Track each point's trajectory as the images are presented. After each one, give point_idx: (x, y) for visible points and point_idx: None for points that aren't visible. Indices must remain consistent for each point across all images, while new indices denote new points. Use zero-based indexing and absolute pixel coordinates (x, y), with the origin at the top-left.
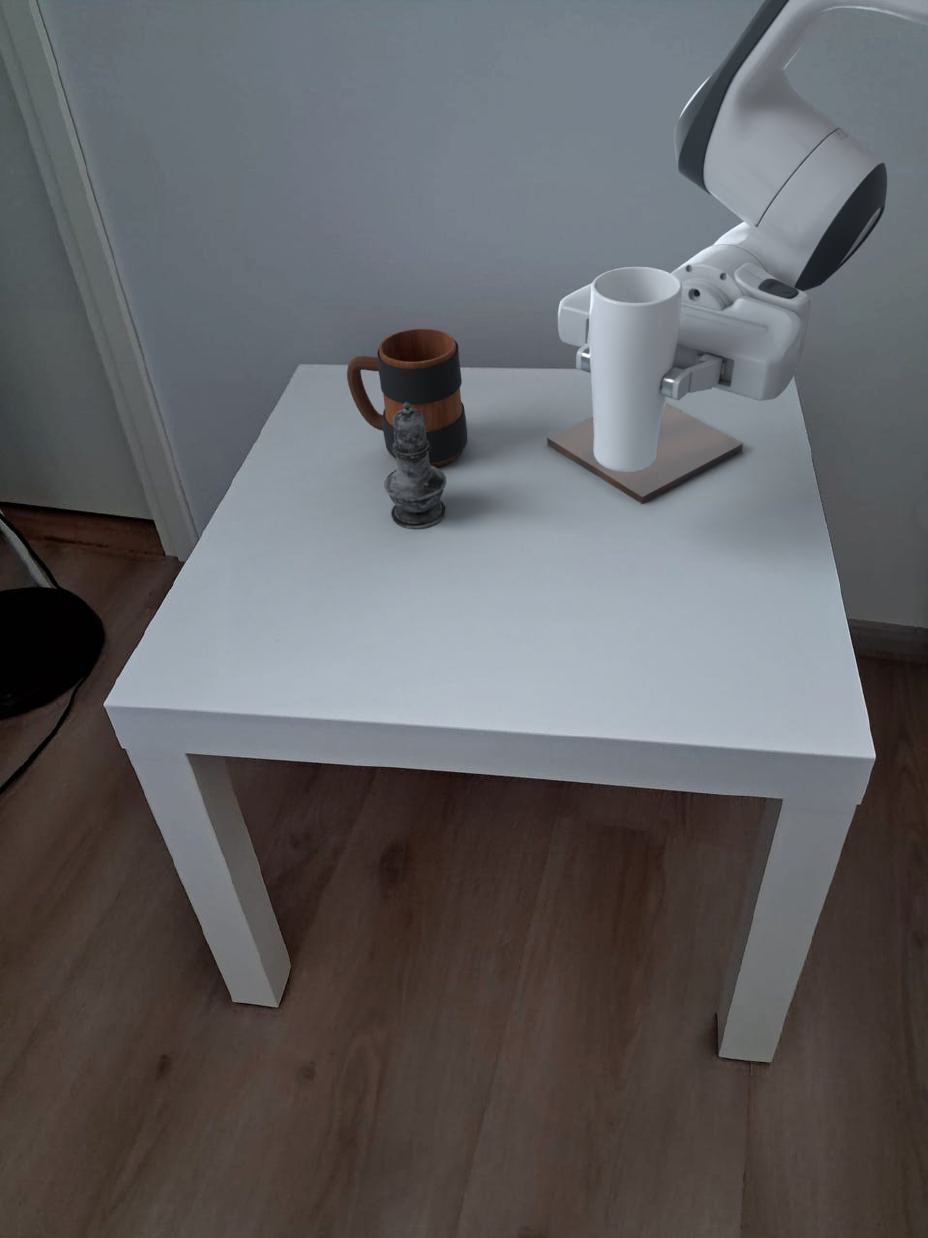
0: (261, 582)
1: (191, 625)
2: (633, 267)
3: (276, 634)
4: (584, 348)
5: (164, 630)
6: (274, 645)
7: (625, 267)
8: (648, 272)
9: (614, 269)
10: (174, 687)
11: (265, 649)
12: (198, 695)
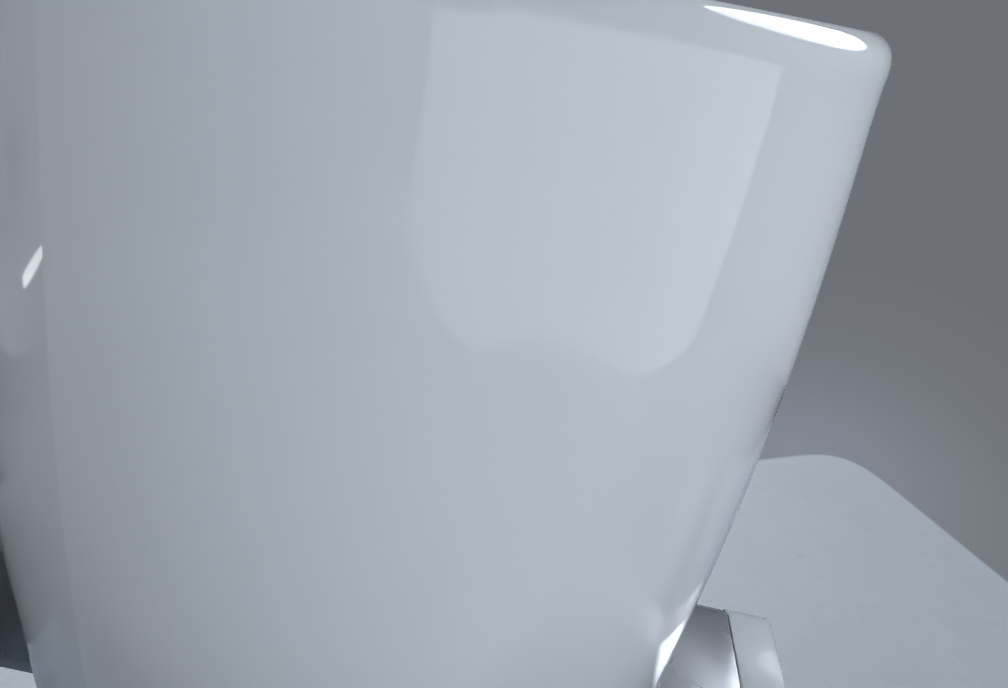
0: (966, 652)
1: (926, 550)
2: (716, 10)
3: (813, 564)
4: (743, 635)
5: (941, 535)
6: (792, 547)
7: (802, 19)
8: (466, 38)
9: (868, 36)
10: (817, 472)
11: (794, 539)
12: (781, 469)
